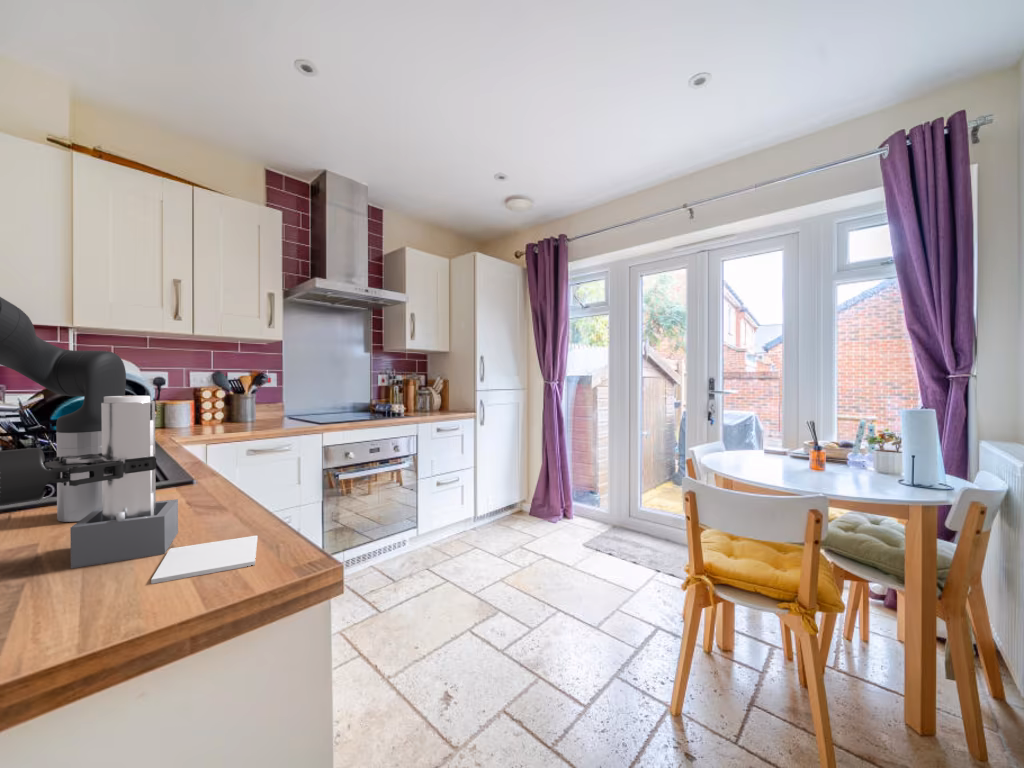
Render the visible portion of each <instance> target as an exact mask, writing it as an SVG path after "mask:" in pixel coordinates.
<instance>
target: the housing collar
mask: <svg viewBox="0 0 1024 768" xmlns="http://www.w3.org/2000/svg"><path fill="white" fill-rule="evenodd" d="M178 533H179V499H178V498H177V499H169V500H156V515H154V516H146V517H137V518H129V519H125V512H118V513H116V520H112V521H104V522H102V507H101V508H96V509H95V510H94V511H92V512H91V513H90V514H88V515H87V516H86V517H84V518H83V519H81V520H80V521H76V523H75V524H73V525H72V526H70V569H75V568H76V569H77V568H83V567H84V568H85V567H90V566H96V565H102V564H108V563H109V564H110V563H114V562H121V561H128V560H134V559H135V560H136V559H141V558H147V557H153V556H161V555H166V554H167V552H168V551H169V549H170V546H171V545H172V543H173V542H174V540H175V539H176V537H177V535H178Z"/></svg>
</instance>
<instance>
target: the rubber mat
mask: <svg viewBox="0 0 1024 768" xmlns="http://www.w3.org/2000/svg"><path fill="white" fill-rule="evenodd" d="M258 537H259V536H258V535H250V536H243V537H238V538H231V539H223V540H217V541H211V542H204V543H197V544H192V545H191V544H190V545H185V546H179V547H172V548H170V547H169V549H168V550H167V552H166V553H165V556H164V558H163V559H162V561H161V563H160V564H159V565H158V568H157V569H156V571H155V573H154V574H153V575H152V578H151V579H150V583H151V585H152V584H153V585H154V584H159V583H165V582H170V581H176V580H181V579H186V578H192V577H197V576H202V575H208V574H214V573H219V572H225V571H231V570H236V569H240V568H247V566H248V567H252V566H251V565H253V566H255V565H256V559H257V558H256V557H257V548H258V547H257V546H258ZM255 558H256V559H255Z"/></svg>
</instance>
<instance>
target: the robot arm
mask: <svg viewBox="0 0 1024 768" xmlns="http://www.w3.org/2000/svg"><path fill="white" fill-rule="evenodd" d="M0 366H3V367H6V368H8V369H11V370H13V371H15V372H17V373H19V374H21V375H23V376H24V377H25V378H28V379H29V380H31V381H33V382H34V383H36V384H37V385H40V386H42V387H43V388H45V389H47V390H49V391H51V392H53V393H55V394H57V395H61V396H66V397H84V398H83V403H82V405H81V407H79V408H78V409H77V410H75V411H73V412H71V413H68V414H64V415H62V416H59V417H57V420H56V424H55V425H56V426H55V430H56V435H55V436H56V457H53V461H47V462H46V459H45V454H44V452H43V449H41V448H39V447H32V448H31V447H29V448H19V449H7V450H0V507H3V506H4V507H5V506H11V505H16V504H17V505H18V504H24V503H25V504H26V503H30V502H37V501H40V500H42V499H43V497H44V496H45V494H46V486H47V485H48V484H56V510H57V511H56V516H57V518H56V520H57V521H58V522H66V523H68V522H69V523H70V522H71V523H72V522H79V521H80V520H81V519H83V518H84V517H86V516H87V515H88V514H90V513H91V512H92V511H94V510H95V509H96V508H101V507H102V481H105V480H111V479H120V478H122V477H123V475H126V474H128V473H135V472H142V471H150V470H154V469H155V470H156V469H157V457H156V456H155V457H154V456H148V457H142V458H134V459H123V458H120V459H115V460H107V459H106V458H104V457H102V415H101V403H102V402H104V397H107V396H126V385H127V374H126V367H125V362H124V361H123V360H122V358H121V357H120V356H119V355H118V354H117V353H115V352H112V351H107V350H74V349H73V350H72V349H66V348H65V349H64V348H62V347H59V346H56V345H54V344H52V343H50V342H48V341H46V340H44V339H42V338H40V337H38V336H37V333H36V330H35V326H34V324H33V322H32V320H31V318H30V317H29V316H28V315H27V313H25V311H24V310H22V309H21V308H20V307H18V306H16V305H15V304H13V303H12V302H9V301H8V300H6V299H5V298H4V297H2V296H0ZM110 466H112V469H113V472H110V473H108V472H106V467H110Z"/></svg>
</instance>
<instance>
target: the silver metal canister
mask: <svg viewBox="0 0 1024 768" xmlns="http://www.w3.org/2000/svg"><path fill="white" fill-rule="evenodd" d="M101 415H102V457H104V458H106V459H107V460H115V459H120V458H123V459H134V458H142V457H148V456H154V457H155V458H156V401H155V400H151V396H150V395H131V394H129V395H128V394H127V395H126V394H125V396H107V397H104V402H102V403H101ZM106 472H108V473H110V472H113V469H112V466H110V467H106ZM156 482H157V481H156V469H154V470H150V471H142V472H135V473H128V474H126V475H123V477H122V478H120V479H111V480H105V481H102V522H104V521H112V520H116V513H118V512H125V519H129V518H137V517H146V516H154V515H156V502H157V500H156V498H157V496H156V495H157V494H156V493H157V491H156V489H157V488H156Z"/></svg>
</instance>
